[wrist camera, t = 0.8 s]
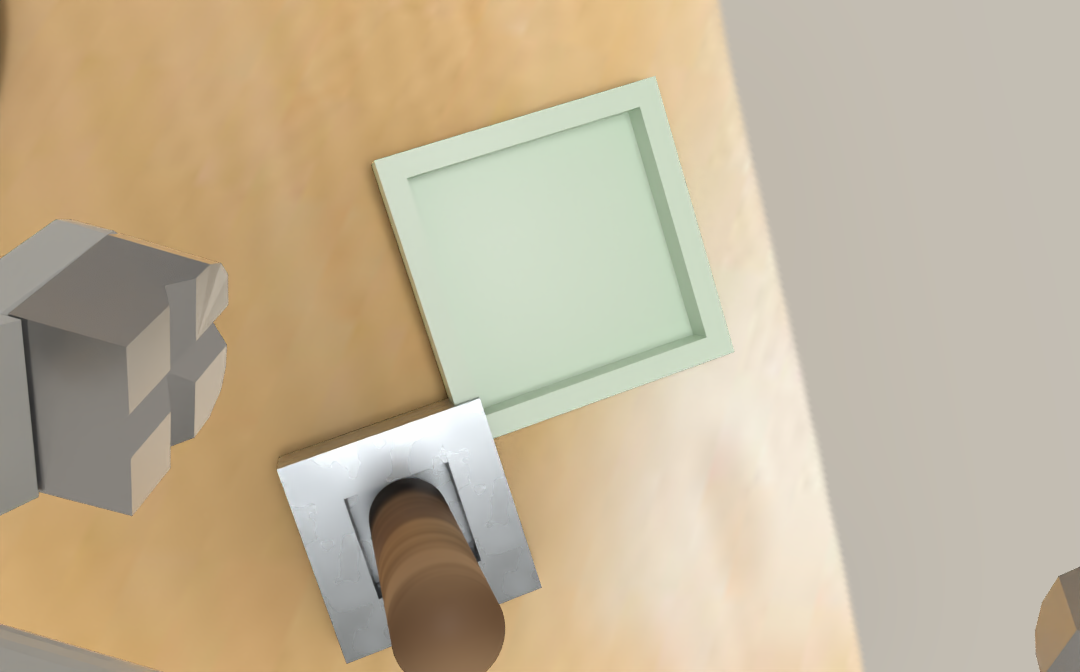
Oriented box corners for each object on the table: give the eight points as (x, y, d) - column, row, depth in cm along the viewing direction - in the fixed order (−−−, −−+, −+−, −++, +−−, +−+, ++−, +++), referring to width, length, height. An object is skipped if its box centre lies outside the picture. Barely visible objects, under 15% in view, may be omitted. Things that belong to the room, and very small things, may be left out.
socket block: (279, 456, 50) (276, 469, 47) (470, 390, 52) (479, 398, 49) (345, 640, 51) (346, 663, 48) (529, 569, 53) (541, 587, 50)
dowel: (357, 494, 50) (375, 602, 35) (434, 466, 51) (485, 560, 35) (383, 568, 51) (411, 706, 35) (458, 539, 52) (519, 662, 36)
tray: (371, 165, 50) (374, 160, 47) (639, 84, 52) (655, 75, 50) (461, 438, 52) (469, 447, 49) (715, 347, 54) (734, 352, 52)
